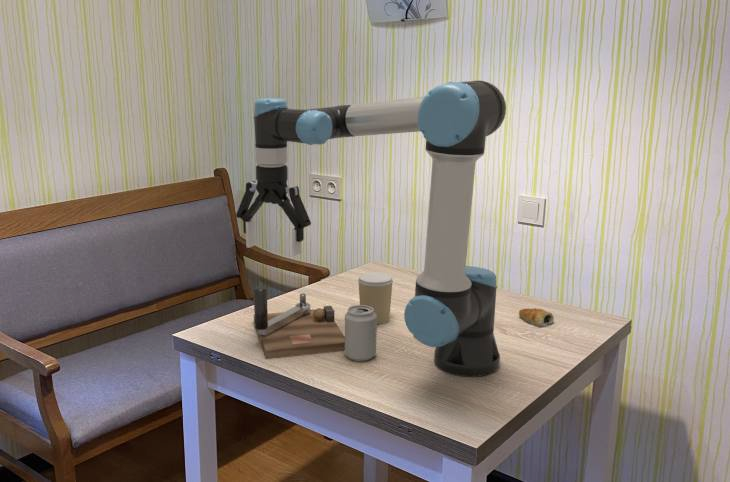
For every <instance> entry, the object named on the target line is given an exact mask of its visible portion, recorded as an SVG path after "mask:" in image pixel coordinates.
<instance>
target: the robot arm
mask: <svg viewBox="0 0 730 482" xmlns="http://www.w3.org/2000/svg"><path fill="white" fill-rule="evenodd" d="M506 103H507V102H506V99H505V97H504V94H503V93H502V92H501V91H500V89H499V88H498V87H497V86H496V85H494V84H493V83H490V82H488V81H484V80H471V81H469V80H468V81H467V80H466V81H448V82H446V83H443V84H439V85H436V86H435V87H433V88H432V89H430V90H429V91H428V92H427V93H426V94H425V95H424V96H419V97H418V96H417V97H408V98H400V99H390V100H382V101H371V102H362V103H354V104H341V105H337V106H328V107H317V108H310V109H309V108H307V109H300V108H298V109H297V108H296V109H295V108H288V106H287V105H288V104H287V100H286V99H284V98H279V97H278V98H277V97H266V98H265V97H264V98H258V99H256V100H255V102H254V112H253V114H254V115H253V121H254V122H253V123H254V142H255V144H254V145H255V146H254V153H255V154H254V155H255V158H254V159H255V160H254V161H255V162H254V163H256V164H257V165H255V179H256V181H257V182H256V181H255V180H254V181H253V180H252V181H249V182H246V183H245V192H244V194H243V196H242V198H241V201H240V204H239V207H238V209H237V211H236V214H235V216H236V218H238V219H241V220H242V222H243V224H242V225H243V233H244V234H245V243H246V244H245V245H246V248H248V249H250V248H253V247H254V246H256V226H255V225H256V222H255V219H254V216H255V215H256V213H257V212H258V211H259V209H260V208H261V207H262V206H263V204H265V203H266V204H269V203H270V204H272V205H276V204H277V206H278V207H280V208H281V209H282V211H283V212H284V214H285V215H286V216H287V218H288V219H289V221H290V223H291V224H292V225H293V226H294V228H292V229H291V234H292V235H291V236H292V237H291V238H292V239H291V241H292V242H291V244H292V247H291V248H292V249H291V250H292V256H297V255H300V254H302V242H303V241H304V238H305V237H304V236H305V235H304V234H305V233H304V232H305V231H304V229H305V228H306V227H310V226H311V225H312V222H311V220H310V217H309V215H308V213H307V210H306V208H305V205H304V203H303V199H302V198H301V195H300V189H299V186H297V185H296V186H291V187H289V186H288V184H287V182H288V179H289V178H288V174H289V173H288V172H289V171H288V165H286V164H288V142H290V143H299V144H307V145H310V146H312V145H323V144H324V145H325V143H327V141H328V140H331V139H332V140H333V139H340V138H341V139H342V138H353V137H363V136H366V137H367V136H376V135H377V136H378V135H390V134H393V135H394V134H402V133H417V132H419V133H420V132H421V133H422V135H423V138H424V139H425V152H426V153H427V154H428V155H429V156H430V157H431V160H432V162H431V175H430V187H429V188H430V191H429V201H428V213H427V215H428V216H427V227H426V240H425V251H424V252H425V253H424V254H425V255H424V266H423V267H424V268H423V271H422V272H421V273H420V274H418V275H417V276H416V279H415V289H414V296H413V297H412V298H411V299H410V300H409V301H408V303H407V304H406V305H405V308H404V313H403V314H404V315H403V318H404V322H405V325H406V329H407V330H408V332H409V333H411V334H412V337H413V338H415V340H416V341H418V342H419V343H421V344H423V345H424V346H427V347H430V348H435V349H434V354H433V356H434V357H433V362H434V365H435V367H437V368H438V369H439V370H441V371H443V372H446V373H447V374H451V375H455V376H460V377H468V378H469V377H484V376H488V375H490V374H493V373H495V372H496V371H498V369H499V368H500V364H501V363H500V361H501V360H500V359H501V356H500V353H499V352H500V351H499V349H498V345H497V341H496V337H495V334H494V331H495V329H494V328H495V315H496V301H497V300H496V299H497V289H498V286H497V275H496V273H494V272H493V271H492V270H490V269H487V268H485V267H484V268H483V267H479V266H473V265H467V257H468V250H469V249H468V247H469V239H470V237H469V236H470V227H471V226H470V225H471V215H472V205H473V193H474V184H475V183H474V182H475V174H476V172H475V171H476V162H477V161H478V160H479V159H480V158H482V157H483V156H484V155H485V149H486V141H487V139H486V138H487V137H488V136H490V135H492V134H493V133H495V132H497V130H498V129H499V128H500V127H501V126H502V124H503V122H504V120H505V118H506V114H507V105H506ZM256 191H257V193H258V195H257V196H256V197H255V199H254V201H253V202H252V200H253V198H254V195H255V194H256ZM251 203H252V204H251Z"/></svg>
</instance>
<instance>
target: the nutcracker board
mask: <svg viewBox="0 0 730 482" xmlns="http://www.w3.org/2000/svg"><path fill="white" fill-rule="evenodd" d="M310 310H311V312H310V313H309V314H307V315H302V316H301V317H299V318H297V319H295V320H293V321H291V322H290V323H288V324H286V325H284V326H282V327H281V328H279V329H277V330H275V331H273V332H271V333H270V334H268V335H266V336H265V335H261V334H258V329H256V333H257V336H258V339H259V342H260V345H261V349H262V351H263V354H264V358H265V359H266V360H268V359H275V358H276V359H277V358H286V357H295V356H304V355H305V356H306V355H315V354H323V353H325V354H326V353H334V352H343V351H344V352H345V334H344V333H343V331H342V329H341V328H340V327H339V326H338V324H337V322H336V321H335V309H334V308H333V307H332V305H323V308H319V307H318V308H316V309H310ZM284 312H285V311H283V312H274V313H268V321H269V320H271V319H272V318H274V317H276V316H278V315H280V314H282V313H284ZM253 324H254V325H255V316H254V315H253Z"/></svg>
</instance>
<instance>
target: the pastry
mask: <svg viewBox="0 0 730 482" xmlns="http://www.w3.org/2000/svg"><path fill="white" fill-rule="evenodd" d="M518 315H519V317H520V319H522V320H523V321H524V322H526V323H528V324H529V325H532V326H534V327H537V328H544V327H547V326H548V325H550V324H552V323H554V320H555V319H554V318H555V317H554V314H553V313H552V312H551V311H550V312H549V311H547V310H545V309H543V308H522V309H520V310H519V312H518Z"/></svg>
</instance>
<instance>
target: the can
mask: <svg viewBox="0 0 730 482" xmlns="http://www.w3.org/2000/svg"><path fill="white" fill-rule="evenodd" d="M344 336H345V350H344V354H345V356H346V357H348V359H349V360H352V361H355V362H365V361H369V360H371V359H372V358H373V357H375V356H376V355H377V324H376V314H375V313H374V309H373V308H372V307H370V306H366V305H360V304H358V305H357V304H356V305H350V306H349V307H348V308H347V311H346V313H345V315H344Z"/></svg>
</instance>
